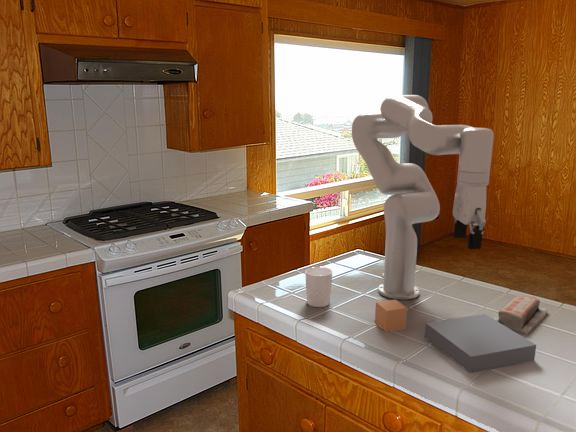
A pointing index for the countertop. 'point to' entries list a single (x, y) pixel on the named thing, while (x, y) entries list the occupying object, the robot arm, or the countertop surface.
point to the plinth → (479, 342)
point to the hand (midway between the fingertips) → (466, 242)
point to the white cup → (318, 286)
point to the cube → (390, 315)
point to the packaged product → (521, 314)
